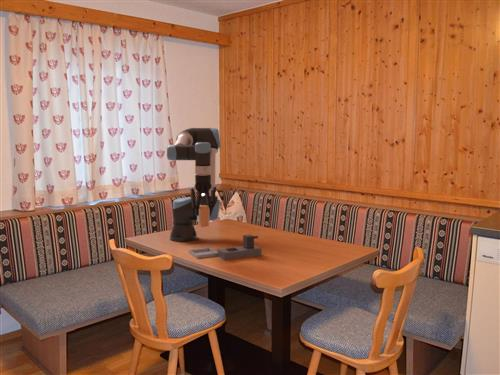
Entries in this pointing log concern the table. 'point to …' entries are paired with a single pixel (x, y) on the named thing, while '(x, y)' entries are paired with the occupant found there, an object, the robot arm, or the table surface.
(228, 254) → the strip
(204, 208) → the plug
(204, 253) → the tray
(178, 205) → the robot arm
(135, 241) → the table surface
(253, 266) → the table surface
